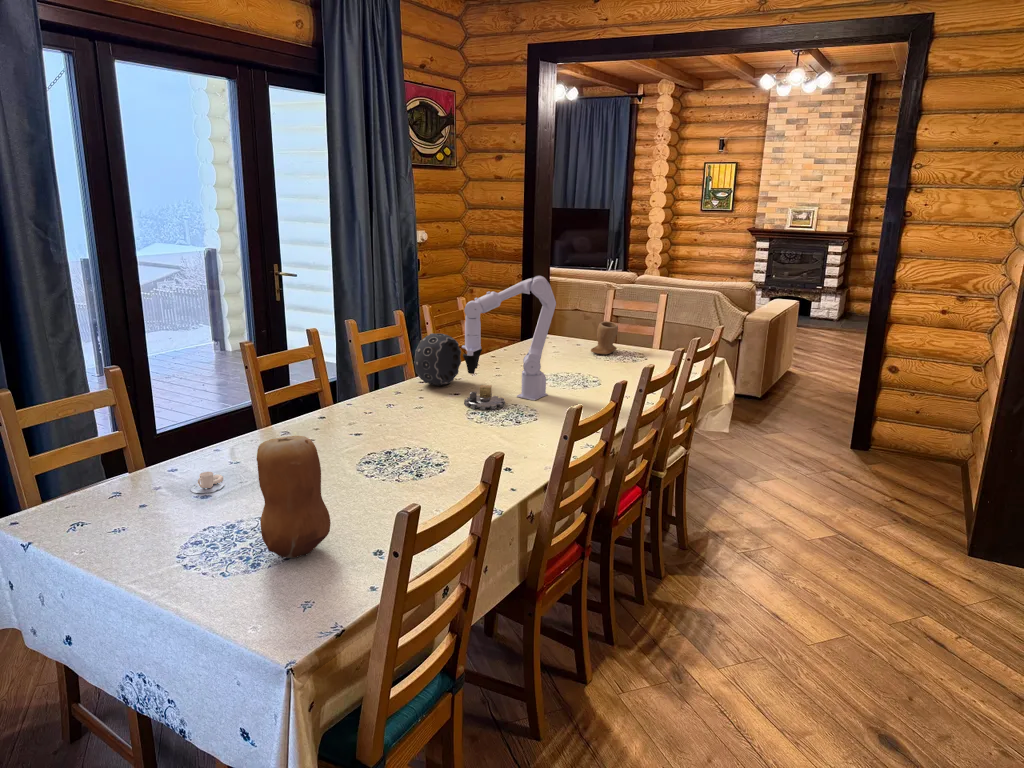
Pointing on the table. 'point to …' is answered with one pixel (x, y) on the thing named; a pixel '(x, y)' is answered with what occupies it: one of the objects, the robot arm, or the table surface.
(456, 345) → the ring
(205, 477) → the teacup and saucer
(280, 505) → the butternut squash
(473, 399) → the sprocket
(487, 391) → the link block
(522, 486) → the table surface
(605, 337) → the stone cup
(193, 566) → the table surface
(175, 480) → the table surface
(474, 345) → the robot arm
